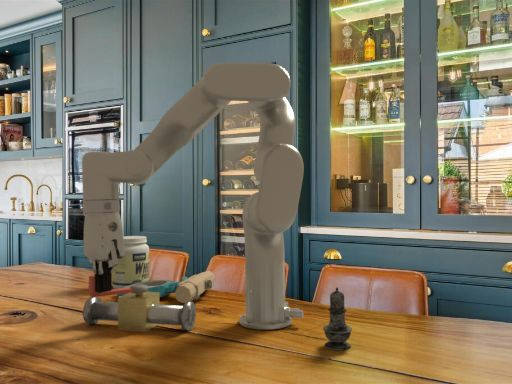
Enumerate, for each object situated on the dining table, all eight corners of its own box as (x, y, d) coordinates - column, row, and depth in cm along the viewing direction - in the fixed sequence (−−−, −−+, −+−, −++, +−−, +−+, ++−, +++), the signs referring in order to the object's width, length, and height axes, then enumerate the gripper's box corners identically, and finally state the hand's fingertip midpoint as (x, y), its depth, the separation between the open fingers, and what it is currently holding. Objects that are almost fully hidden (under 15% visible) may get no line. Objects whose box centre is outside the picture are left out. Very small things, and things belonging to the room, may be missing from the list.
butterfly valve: (97, 316, 128) (199, 308, 122) (94, 292, 128) (196, 282, 122) (139, 295, 154) (224, 287, 148) (136, 275, 154) (222, 266, 149)
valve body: (196, 325, 108) (196, 291, 108) (185, 334, 102) (184, 298, 102) (99, 319, 115) (98, 287, 115) (82, 327, 108) (81, 293, 108)
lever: (144, 289, 111) (144, 269, 111) (150, 291, 107) (149, 271, 107) (87, 295, 104) (87, 275, 104) (90, 299, 101) (90, 278, 101)
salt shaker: (332, 339, 97) (331, 283, 97) (357, 345, 93) (356, 286, 93) (317, 346, 93) (317, 287, 93) (343, 353, 89) (342, 291, 89)
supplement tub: (136, 292, 145) (136, 239, 145) (104, 290, 149) (103, 238, 149) (156, 285, 157) (156, 235, 157) (126, 283, 160) (125, 235, 160)
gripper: (135, 207, 98) (137, 292, 98) (100, 207, 108) (102, 284, 109) (102, 209, 93) (104, 299, 93) (69, 208, 103) (71, 289, 103)
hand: (103, 291), depth 101 cm, fingers closed
